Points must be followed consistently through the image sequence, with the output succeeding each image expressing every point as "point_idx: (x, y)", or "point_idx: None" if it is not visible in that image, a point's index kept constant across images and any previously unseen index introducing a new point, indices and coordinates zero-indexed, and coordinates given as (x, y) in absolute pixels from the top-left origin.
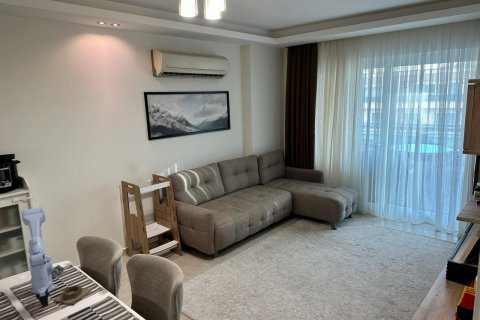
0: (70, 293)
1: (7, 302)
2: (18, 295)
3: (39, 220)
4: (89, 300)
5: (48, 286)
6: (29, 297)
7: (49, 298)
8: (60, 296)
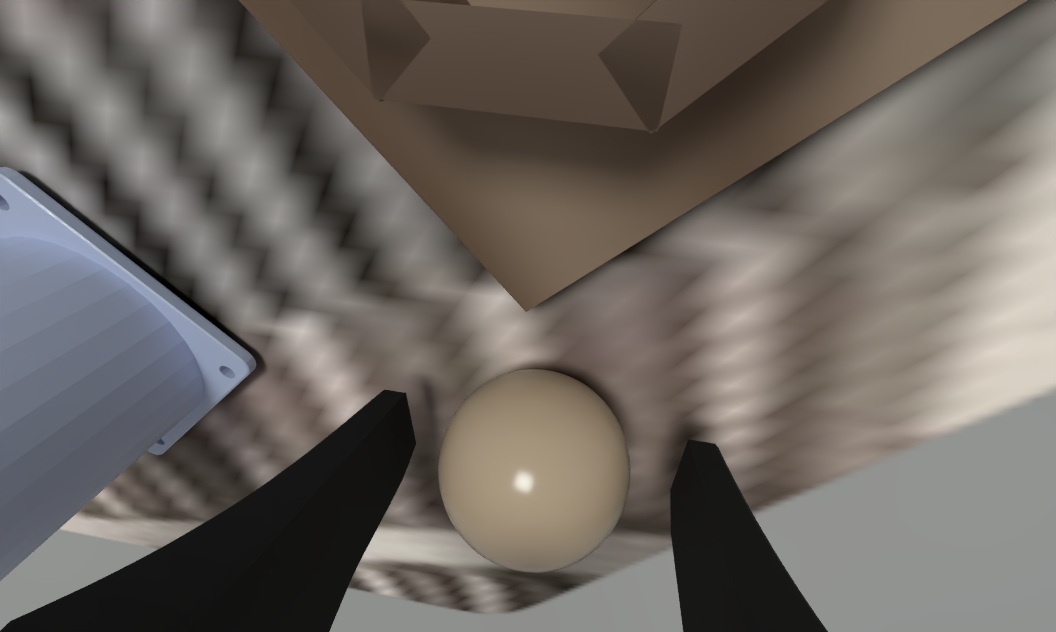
0: None
1: None
2: (210, 512)
3: None
4: None
5: (212, 603)
6: (272, 471)
7: (565, 436)
8: (469, 169)
